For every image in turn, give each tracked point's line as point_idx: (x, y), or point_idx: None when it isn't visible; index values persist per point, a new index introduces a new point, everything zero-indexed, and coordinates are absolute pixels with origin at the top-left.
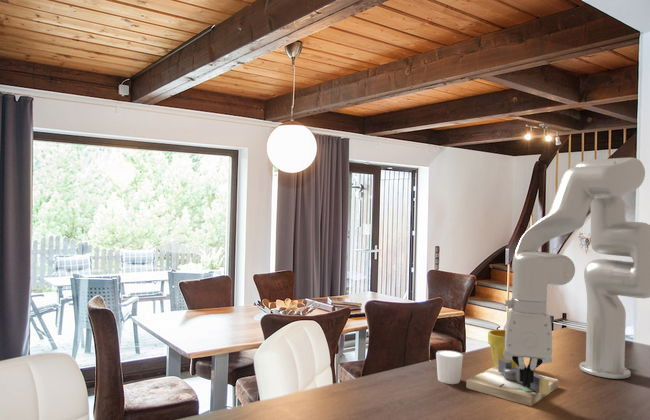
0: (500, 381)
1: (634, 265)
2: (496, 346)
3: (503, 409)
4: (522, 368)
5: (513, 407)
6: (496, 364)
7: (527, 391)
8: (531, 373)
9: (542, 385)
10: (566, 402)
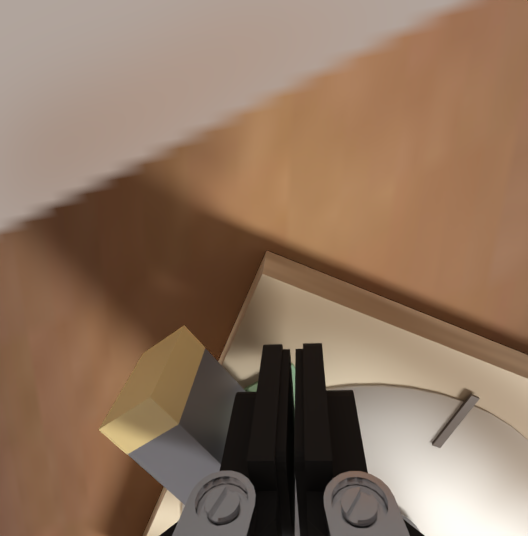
0: (450, 483)
1: None
2: None
3: (462, 111)
4: (347, 485)
5: (382, 185)
6: None
7: None
8: (245, 454)
9: (164, 365)
10: (79, 385)
